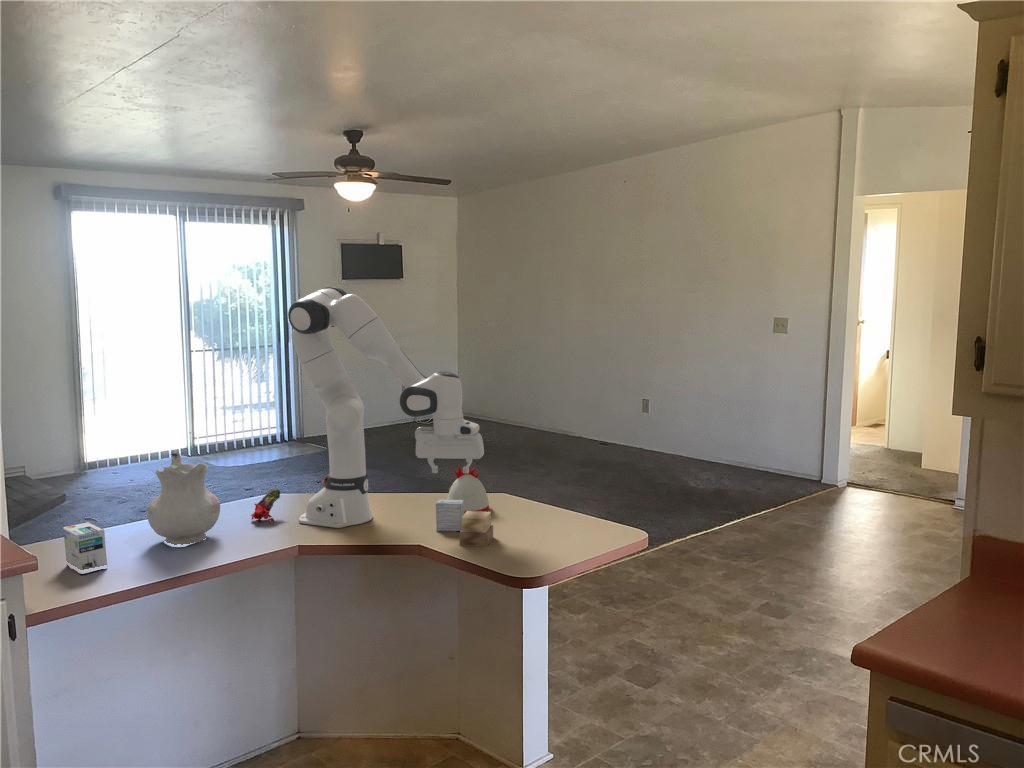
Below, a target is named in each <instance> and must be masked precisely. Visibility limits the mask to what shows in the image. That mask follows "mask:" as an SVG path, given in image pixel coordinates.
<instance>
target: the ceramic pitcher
mask: <svg viewBox="0 0 1024 768" xmlns="http://www.w3.org/2000/svg"><path fill="white" fill-rule="evenodd" d="M170 453H171V454H170V456H171V465H169V466H164V467H163V469H162V470H161V469H159V468H158V469H156V470H155V474H156V476H157V478H158V480H159V482H160V487H161V491H160V493H159V494H158V495H157V496H156V497H155V498H153V500H152V501H151V502H150V504H148V506H147V522H148V524H149V526H150V527H151V529H152V530H153V531H154V533H156V534H157V535H158V536H160V537H163V538H165V539H164V541H166V542H167V543H171V544H174V545H177V544H181V545H183V544H190V543H194V542H198V543H200V542H199V541H202V540H203V539H205V538H206V537H207V536H208V535H207V534H206V533H207V532H209V531H210V530H212V528H213V527H214V526H215V525H216V523H217V521H218V520H219V517H220V513H221V502H220V499H219V498H218V497H217V496H216V495H215V494H214V493H212V492H210V491H209V490H208V489H207V488H206V485H205V477H206V474H207V473H208V469H209V466H208V463H203V462H197V463H196V464H195V465H194V464H188V463H183V459H182V457H181V454H180V453H179V452H177V451H175V450H172V451H171V452H170ZM206 535H207V536H206ZM207 538H208V537H207ZM202 542H203V541H202ZM194 544H195V543H194Z"/></svg>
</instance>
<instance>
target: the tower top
mask: <svg viewBox="0 0 1024 768" xmlns="http://www.w3.org/2000/svg"><path fill="white" fill-rule="evenodd" d="M491 515H492V513H491V511H488V512H482V511H467V512H466V513H465V514H464V515H463V517H462V518H461V527H462V532H476V533H486V532H487V531H488V529H489V528H490V526H491V525H492V516H491Z"/></svg>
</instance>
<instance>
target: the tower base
mask: <svg viewBox="0 0 1024 768" xmlns="http://www.w3.org/2000/svg"><path fill="white" fill-rule="evenodd" d="M458 533H459V534H458V535H459V536H458V537H459V539H458V540H459V546H467V545H478V546H477V547H485V546H487V547H488V546H489V545H490V543H491V542H492V540H493V539H494V524H491V526H490V528H489V529H488V531H487V532H486V533H476V532H462V530H461V531H460V532H458ZM492 538H493V539H492ZM488 544H489V545H488Z"/></svg>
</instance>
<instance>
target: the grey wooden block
mask: <svg viewBox="0 0 1024 768" xmlns="http://www.w3.org/2000/svg"><path fill="white" fill-rule="evenodd" d="M463 515H464V500H447V499H438V500H437V501H436V503H435V521H436V524H435V526H436V528H435V529H436V530H439V531H438V532H456V531H461V530H462V527H461V518H462V517H463ZM436 530H435V531H436Z"/></svg>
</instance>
